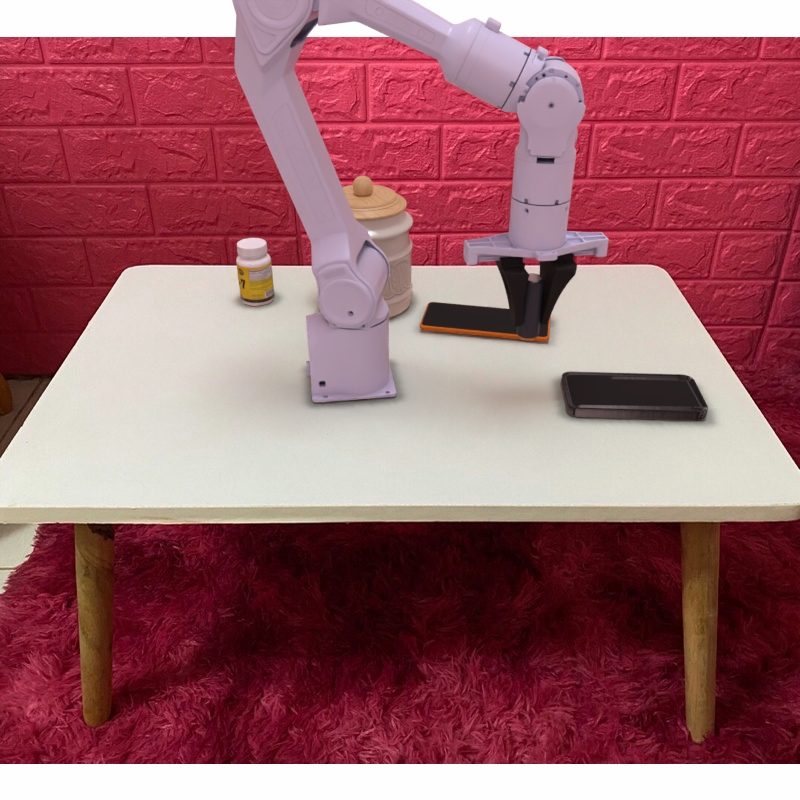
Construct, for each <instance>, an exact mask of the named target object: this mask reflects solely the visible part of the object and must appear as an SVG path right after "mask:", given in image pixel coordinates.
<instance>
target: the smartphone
mask: <svg viewBox="0 0 800 800" xmlns="http://www.w3.org/2000/svg"><path fill="white" fill-rule="evenodd" d="M551 319H552V315H551V316H550V319H549V322H548V324H544V325H542V324H541V323H540V328H539V335H538V336H537V337H536V338H535V339H534V340H530V341H531V342H547V341H549V339H550V333H551V332H550V331H551ZM419 328H420V329H421V330H423V331H429V332H439V333H450V334H462V335H471V336H481V337H490V338H502V339H510V340H511V339H512V340H522V339H520V338H519V336H518V335H517V333H516V331H517V326H516V327H515V326H514V325H513V323H512V321H511V320H510V312H509V308H507V307H506V308H504V307H494V306H484V305H483V306H482V305H472V304H460V303H452V302H451V303H450V302H438V301H430V302H428V303H427V304H426V306H425V310H424V313H423V315H422V318H421V321H420V323H419Z"/></svg>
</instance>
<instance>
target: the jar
mask: <svg viewBox="0 0 800 800" xmlns="http://www.w3.org/2000/svg"><path fill="white" fill-rule="evenodd" d="M342 188H343V191H344V193H345V195H346V198H347V200H348V203H349V205H350V208H351V210H352V212H353V215H354V217H355V219H356V220H357V221H358V222H359V223H360V224H362V225H363V226H364V227H365V228H366V229H367V231H368V233H369V236H370V238H371V240H372V241H373V242H374V244H375V245H376V246H377V247H379V248H380V249H381V250H382V251H383V252H384V253H385V255H386V257H387V258H388V261H389V264H390V276H389V279H388V281H387V283H386V284H385V286H384V288H383V290H382V293H381V294H382V296H383V298H384V300H385V302H386V304H387V306H388V308H389V319H390V318H392V317H393V318H394V317H396V316H398V315H401V313H404V312H405V311H406V310H407V309H408V308H409V306H410V305H411V300H412V297H413V293H414V292H413V282H412V254H413V253H412V250H413V247H414V244H413V240H412V239H411V238H410V229H411V228H412V227H413V224H414V218H413V216H412V215H411V214H410V213H409V212H408V211H406V209H407V205H408V202H407V199H405V197H404V196H402V195H401V194H398V193H397V192H396V191H395V190H394V189H391V188H390V187H387V186H384V185H379V184H373V181H372V179H371V178H370V177H369V176H367V175H359V176H357V177H355V178H354V180H353V182H352V184H350V185H345V186H344V185H343V186H342Z"/></svg>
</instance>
